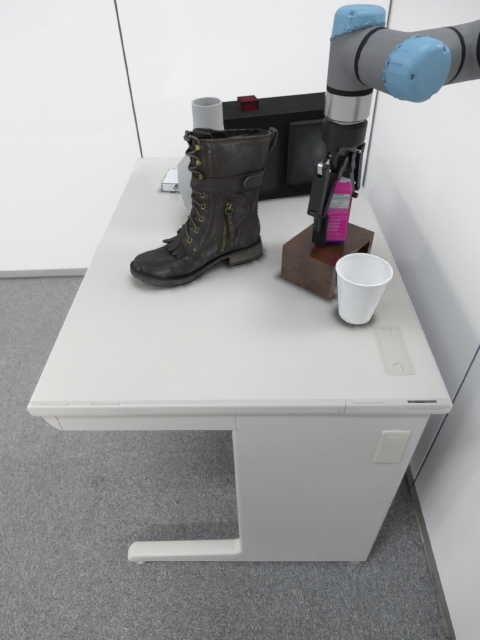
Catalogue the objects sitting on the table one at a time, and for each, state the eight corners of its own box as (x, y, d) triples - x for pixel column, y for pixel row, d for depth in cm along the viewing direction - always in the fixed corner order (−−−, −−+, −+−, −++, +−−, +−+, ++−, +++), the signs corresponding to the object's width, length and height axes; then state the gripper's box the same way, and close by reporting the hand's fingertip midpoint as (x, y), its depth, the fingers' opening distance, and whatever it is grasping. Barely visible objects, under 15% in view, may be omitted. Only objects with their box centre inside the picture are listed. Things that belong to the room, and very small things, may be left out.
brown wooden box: (368, 263, 97) (374, 232, 92) (328, 299, 88) (333, 267, 83) (322, 244, 103) (325, 213, 97) (280, 276, 94) (282, 245, 89)
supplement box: (314, 227, 92) (320, 175, 84) (343, 228, 91) (351, 176, 84) (315, 242, 88) (321, 189, 80) (345, 244, 87) (354, 189, 79)
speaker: (348, 192, 122) (363, 98, 105) (224, 209, 116) (219, 113, 100) (327, 169, 132) (337, 81, 116) (213, 184, 127) (207, 94, 111)
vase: (250, 232, 107) (250, 112, 88) (183, 238, 106) (168, 117, 87) (242, 200, 119) (240, 88, 100) (181, 205, 118) (167, 92, 99)
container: (174, 168, 135) (173, 160, 134) (210, 169, 134) (210, 161, 132) (157, 200, 121) (156, 191, 119) (198, 201, 120) (197, 192, 118)
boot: (125, 269, 97) (92, 136, 78) (257, 230, 108) (258, 104, 88) (141, 298, 90) (109, 159, 70) (281, 254, 100) (288, 121, 81)
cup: (386, 332, 81) (399, 285, 74) (332, 333, 81) (340, 286, 74) (374, 298, 88) (386, 252, 81) (325, 298, 88) (331, 252, 81)
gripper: (357, 98, 81) (340, 209, 97) (291, 130, 70) (284, 250, 86) (394, 105, 78) (371, 220, 93) (331, 141, 67) (317, 264, 82)
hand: (329, 234), depth 89 cm, fingers closed on supplement box, 8 cm apart
